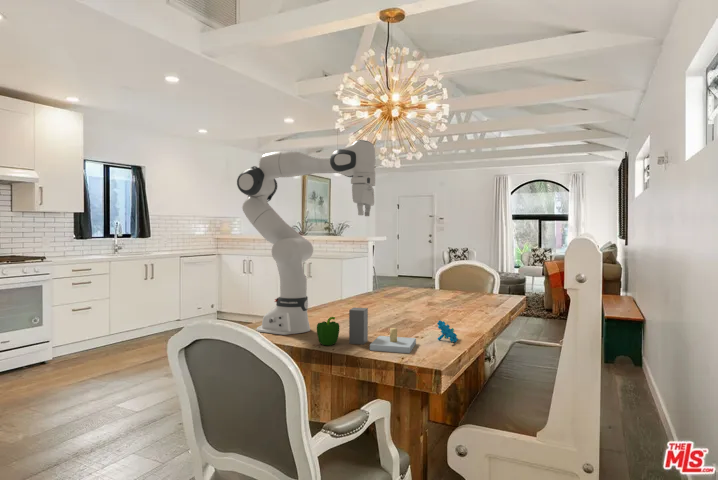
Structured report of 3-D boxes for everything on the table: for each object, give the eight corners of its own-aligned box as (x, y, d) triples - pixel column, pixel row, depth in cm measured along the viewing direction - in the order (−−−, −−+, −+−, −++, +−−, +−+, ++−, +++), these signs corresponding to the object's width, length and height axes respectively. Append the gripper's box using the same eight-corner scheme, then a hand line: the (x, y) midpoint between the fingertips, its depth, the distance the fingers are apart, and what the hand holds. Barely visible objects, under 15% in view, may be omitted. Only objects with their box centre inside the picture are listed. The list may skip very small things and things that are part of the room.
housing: (349, 343, 167) (349, 309, 167) (353, 340, 173) (353, 307, 173) (363, 344, 166) (363, 310, 166) (367, 341, 171) (367, 308, 171)
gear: (452, 340, 165) (435, 319, 169) (441, 350, 167) (424, 329, 171) (463, 339, 174) (447, 318, 178) (452, 348, 176) (437, 328, 180)
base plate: (369, 350, 158) (369, 331, 158) (379, 341, 171) (379, 323, 171) (409, 353, 154) (409, 334, 154) (415, 343, 167) (415, 326, 167)
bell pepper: (315, 347, 162) (315, 319, 162) (317, 341, 170) (317, 315, 170) (339, 347, 162) (339, 319, 162) (339, 341, 170) (339, 315, 170)
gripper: (363, 184, 191) (363, 216, 191) (349, 178, 171) (349, 214, 172) (378, 183, 189) (377, 216, 190) (365, 177, 170) (365, 214, 170)
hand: (364, 215), depth 180 cm, fingers open, 8 cm apart
